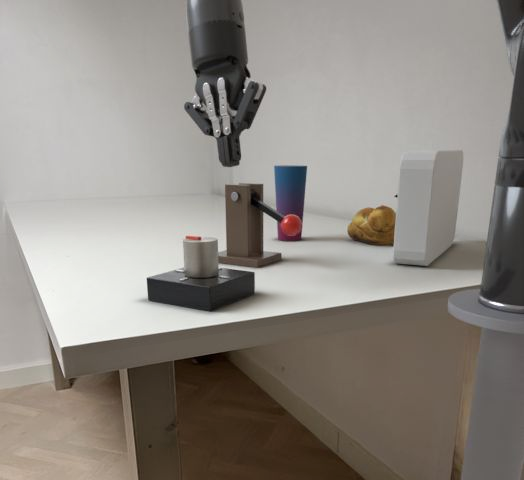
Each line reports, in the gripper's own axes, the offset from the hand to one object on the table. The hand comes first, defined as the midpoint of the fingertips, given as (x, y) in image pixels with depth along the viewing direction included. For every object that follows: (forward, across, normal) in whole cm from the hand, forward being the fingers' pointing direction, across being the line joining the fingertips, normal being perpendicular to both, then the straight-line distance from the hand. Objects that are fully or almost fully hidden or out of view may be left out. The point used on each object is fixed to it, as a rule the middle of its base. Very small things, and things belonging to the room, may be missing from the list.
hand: (231, 165), depth 76 cm
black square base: (+17, -1, -8) cm, 19 cm away
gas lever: (+7, -6, +15) cm, 17 cm away
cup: (+10, -17, +40) cm, 44 cm away
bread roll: (+13, 0, +47) cm, 48 cm away
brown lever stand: (+13, -11, +15) cm, 23 cm away
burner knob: (+14, 0, -8) cm, 16 cm away
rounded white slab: (+16, +13, +40) cm, 44 cm away
